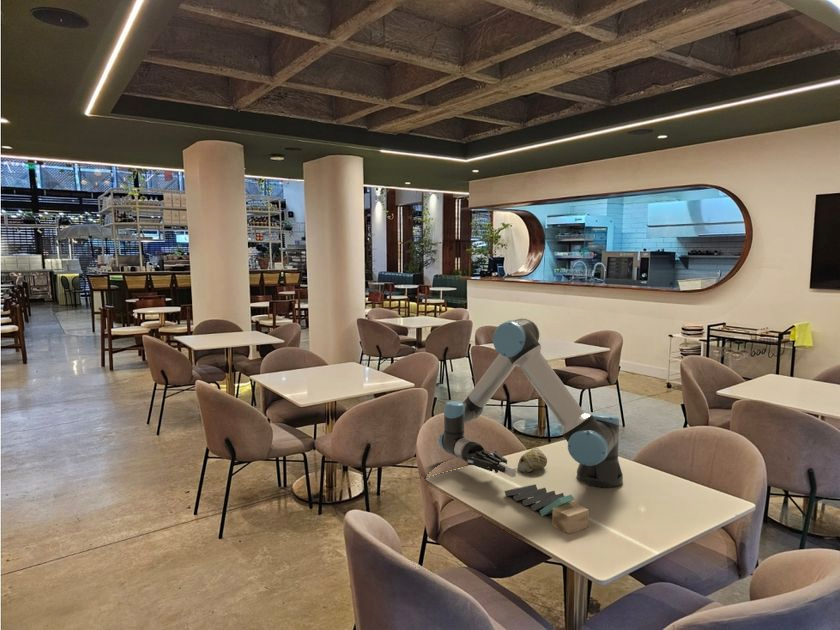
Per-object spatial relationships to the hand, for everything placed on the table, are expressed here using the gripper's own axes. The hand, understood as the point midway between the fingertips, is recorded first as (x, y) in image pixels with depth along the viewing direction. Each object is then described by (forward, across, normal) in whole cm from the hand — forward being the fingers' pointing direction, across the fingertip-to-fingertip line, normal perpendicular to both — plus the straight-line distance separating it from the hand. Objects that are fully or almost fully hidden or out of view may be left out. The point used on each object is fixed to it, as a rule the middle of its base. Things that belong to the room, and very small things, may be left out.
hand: (513, 472), depth 171 cm
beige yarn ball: (-14, -22, -8) cm, 27 cm away
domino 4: (+11, 0, -7) cm, 13 cm away
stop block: (+24, 0, -8) cm, 25 cm away
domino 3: (+7, 0, -7) cm, 10 cm away
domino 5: (+15, 0, -7) cm, 16 cm away
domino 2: (+3, 0, -7) cm, 7 cm away
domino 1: (-1, 0, -7) cm, 7 cm away
